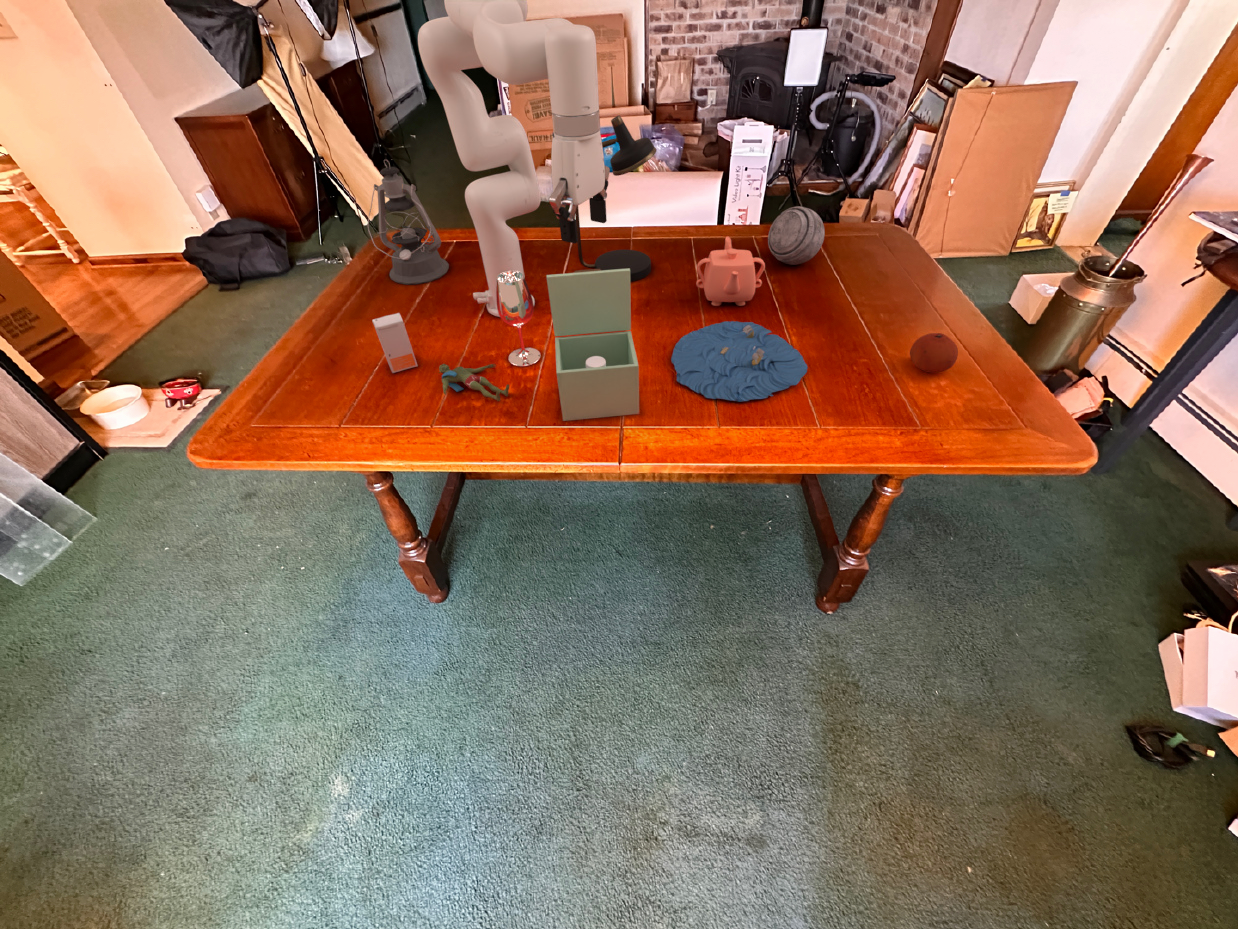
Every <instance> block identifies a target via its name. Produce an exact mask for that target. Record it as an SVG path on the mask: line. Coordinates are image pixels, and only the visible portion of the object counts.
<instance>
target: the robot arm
mask: <svg viewBox="0 0 1238 929" xmlns="http://www.w3.org/2000/svg"><path fill="white" fill-rule="evenodd" d="M443 2H444V9H445V11H446V14H447V16H442V17H438V18H433V19H431V20H429V21H427V22H425V23H424V24H422V25H421V27H420V28H419V29H418V32H417V46H418V52H419V55H420V60H421V62H422V65H423V68H424V71H425V72H426V74H427V77H428V79H429V80H430V82H431V84H432V85H433V87H434V89H435V91H436V93H437V94H438V96H439V98H440V100H441V103H442V106H443V109H444V112H445V115H446V118H447V122H448V125H449V129H450V132H451V135H452V139H453V142H454V145H455V148H456V152H457V155H458V158H459V159H460V163H461V164H462V166H463V167H464V168H465V169H466V170H468V171H470V172H482V171H486V170H492V169H495V168H500V167H503V166H504V167H505V166H508V168H509V171H505V172H502V173H501V172H500V173H496V174H491V175H488V176H484V177H481V178H478V179H475V180H473V181H471V182H470V183H469V184H468V185H467V186H466V188H465V190H464V200H465V204H466V207H467V210H468V213H469V216H470V217H471V220H472V223H473V227H474V228H475V233H476V236H477V241H478V245H479V249H480V254H481V259H482V263H483V264H482V265H483V268H484V272H485V276H486V282H487V286H488V290H485V291H483V292H480V291H477V292H473V293H472V297H473V300H474V301H477V304H486V310H487V312H488V313H489V314H491V315H493V316H494V317H498V318H501V317H500V316H499V313H498V310H497V300H496V286H497V276H498V275H499V274H500V273H502V272H505V271H519V272H521V273H522V274H523V276H524V278H525V279H526V277H525V271H524V265H523V259H522V253H521V252H522V251H521V247H520V240H519V237H518V235H517V233H516V232H515V230H514V229H513V228H512V227H510V226H508V224H507V222H506V221H507V220H511V219H513V218H516V217H520V216H523V215H526V214H530V213H532V212H534V211H536V210H537V209H538V208H539V207H540V204H541V189H540V184H539V180H538V176H537V172H536V167H535V162H534V159H533V154H532V150H531V146H530V142H529V139H528V135H527V132H526V130H525V128H524V126H523V125H522V123H521V122H520V120H519V119H518V118H517V117H516V116H513V115H511V114H502V115H496V116H491V117H490V116H489V114H488V111H487V109H486V104H485V101H484V97H483V94H482V92H481V90H480V88H479V87H478V86H477V84H475V83H474V81H473V80H472V79H471V78H470V77H469V76H468V75H467V74H466V73H464V72H463V70H464V71H465V70H470V69H477V68H483V69H484V70H485V71H486V72H487V73H488V74H489V75H491V76H492V77H494V79H497V80H498V81H500V82H501V83H504V84H506V85H511V86H512V85H514V86H518V85H519V86H520V85H524V84H529V83H534V82H539V81H544V80H545V81H546V80H547V81H548V91H549V100H550V101H549V102H550V110H551V118H552V119H551V120H552V129H553V130H552V131H553V136H554V137H552V140H551V162H550V163H551V164H550V165H551V183H552V193H551V195H550V196H549V198H548V199H549V200H548V201H549V202H548V203H549V205H550V206H551V209H552V212H553V214H554V215H555V216H556V219H558V221H559V231H560V239H561V241H562V242H565V243H566V242H567V243H571V244H577V242H578V235H577V223H576V219H575V211H576V208H577V206H578V207H579V206H580V205H582V204H584V203H585V202H586V201H588V200H589V215H590V216H589V217H590V221H592V222H595V223H601V224H605V223H607V221H608V220H607V201H606V200H607V197H608V192H607V190H608V187H609V177H610V170H611V169H610V167H609V166H607V165H605V155H604V148H602V142H603V141H602V135H601V117H600V115H601V114H600V100H599V80H598V79H599V78H598V77H599V76H598V59H597V41H596V35H595V31H594V30H593V29H592V28H591V27H590V26H587V25H583V24H574V23H572V22H571V21H570V20H568V19H566V18H562V17H552V18H544V19H533V20H528V19H527V18H528V6H529V5H528V0H443ZM566 206H569V209H568V210H567V209H566ZM531 297H532V300H533V306H534V307H535V305H536V304H535V303H536V301H535V298H534V296H533V295H532V294H531Z"/></svg>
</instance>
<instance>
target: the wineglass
mask: <svg viewBox="0 0 1238 929" xmlns="http://www.w3.org/2000/svg"><path fill="white" fill-rule="evenodd" d="M524 276H525V275H524ZM524 276H523V274H522V273H521V272H519V271H505V272H502V273H500V274H499V275H498V276H497V286H496V300H497V310H498V313H499V316H500V317H499V318H500V319H501V320H502V321H503V322H504V323H505V324H507V325H509V326H511V327H515V328H516V330H517V332H518V337H519V343H520V348H517V349H515V350H513V351H511V353H510V354H509V355H508V357H507V358H508V362H509V364H510V365H513V366H515V367H529V366H532V365H535V364H536V363H538V362H539V361H540V359H541V357H542V355H541V352H540V351H539V350H538V349H536V348H534V347H525V344H524V338H523V329H522V328H523V326H526V325H527V324H528V323H529V322H530V321H531V320H532V317H533V316H534V311H535V308H534V307H535V305H534V306H533V300H532V297H531V295H532V293H531V291H530V288H529V286H528V282H527V281H526V277H525V278H524Z"/></svg>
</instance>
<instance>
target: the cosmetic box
mask: <svg viewBox="0 0 1238 929" xmlns="http://www.w3.org/2000/svg"><path fill="white" fill-rule="evenodd" d="M371 321H372V324H373V327H374V329H375V332H376V335H377V338H378V340H379V342H380V345H381V348H382V350H383V353H384V356H385V359H386V361H387V363H388V366H389V369H390V371H391V373H392V374H395V373H398V372H399V373H400V372H402V371H406V370H409V369H412V368H413V369H414V368H417V367H419V365H418V362H417V360H416V356H415V353H414V350H413V347H412V343H411V341H410V338H409V335H408V334H409V333H408V331H407V329H406V325H405V322H404V320H403V318H402V315H401V313H400V312H397V313H392V314H388V315H384V316H381V317H377V318H374V319H372V320H371Z"/></svg>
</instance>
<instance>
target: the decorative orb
mask: <svg viewBox="0 0 1238 929" xmlns="http://www.w3.org/2000/svg"><path fill="white" fill-rule="evenodd" d="M823 222H824V221H823V220H822V218H821V217H820V215H819V214H818V213H817V212H816V211H814V210H813V209H811V208H808V207H805V206H799V205H798V206H793V207H789V208H787V209H785V210H783V211H782V212H781V213H780V214H779V215H778V216H777V217H776V218H775V219H774V221H773V222H772V224H771V225H770V228H769V231H768V235H767V245H768V248H769V251H770V253H771V254H772V255H773V256H774V257H775V258H776V259H777V260H778V261H779V262H781V263H783V264H785V265H790V266H791V265H794V266H796V265H802V264H804V263H806V262H808V261H810V260H811V259H813V258H814V257H815V256H816V255H817V253H819V251H820V250H821V248H822V245H823V243H824V240H825V231H826V230H825V225H824V223H823Z"/></svg>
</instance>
